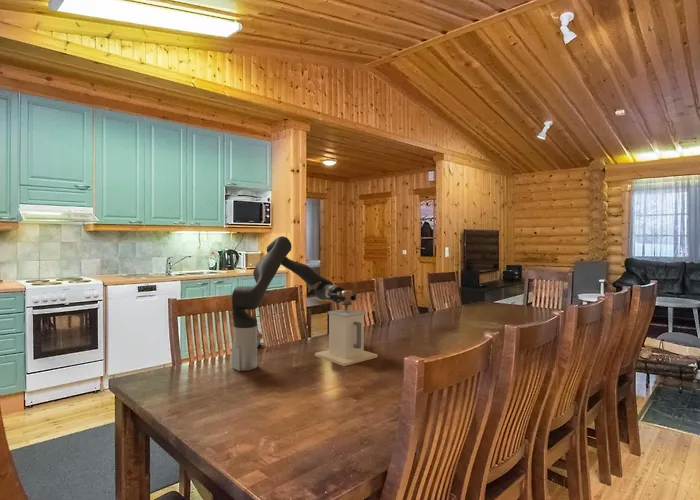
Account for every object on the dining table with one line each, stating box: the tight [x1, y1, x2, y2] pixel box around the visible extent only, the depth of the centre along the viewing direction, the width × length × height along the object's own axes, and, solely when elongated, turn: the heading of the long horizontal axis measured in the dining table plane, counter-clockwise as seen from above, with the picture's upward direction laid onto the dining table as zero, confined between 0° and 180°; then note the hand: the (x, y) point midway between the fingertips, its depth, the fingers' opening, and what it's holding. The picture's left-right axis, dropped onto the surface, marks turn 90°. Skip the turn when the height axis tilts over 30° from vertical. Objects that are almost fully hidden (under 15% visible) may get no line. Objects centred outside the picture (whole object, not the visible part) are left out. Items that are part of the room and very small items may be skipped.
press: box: [314, 308, 378, 367], centre depth 198 cm, size 20×20×20 cm
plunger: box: [340, 289, 353, 313], centre depth 198 cm, size 9×9×24 cm
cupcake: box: [257, 330, 263, 347], centre depth 215 cm, size 9×8×12 cm
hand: (348, 298), depth 195 cm, fingers closed on plunger, 4 cm apart
